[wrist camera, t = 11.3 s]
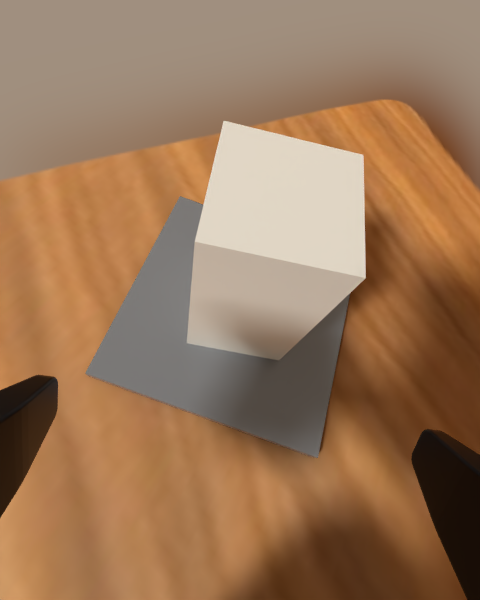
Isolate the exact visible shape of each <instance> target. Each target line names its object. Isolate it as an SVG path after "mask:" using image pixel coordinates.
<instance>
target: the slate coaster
mask: <svg viewBox="0 0 480 600" xmlns="http://www.w3.org/2000/svg"><path fill="white" fill-rule="evenodd" d="M202 209H203V205H202V204H200V203H197V202H194V201H192V200H189V199H186V198H183V197H181V196H180V197H179V199H178V201H177V203H176V205H175V207H174V208H173V210H172V212H171V214H170V216H169V218H168V220H167V222H166V223H165V225H164V227H163V229H162V231H161V233H160V235H159V237H158V238H157V240H156V242H155V244H154V246H153V248H152V250H151V251H150V253H149V255H148V257H147V259H146V261H145V263H144V265H143V266H142V268H141V270H140V272H139V274H138V276H137V278H136V279H135V281H134V283H133V285H132V287H131V289H130V291H129V293H128V294H127V296H126V298H125V300H124V302H123V304H122V306H121V308H120V309H119V311H118V313H117V315H116V317H115V319H114V321H113V322H112V324H111V326H110V328H109V330H108V332H107V334H106V336H105V337H104V339H103V341H102V343H101V345H100V347H99V349H98V350H97V352H96V354H95V356H94V358H93V360H92V362H91V364H90V365H89V367H88V369H87V371H86V373H85V374H86V375H88V376H89V377H92V378H95V379H98V380H100V381H103V382H106V383H109V384H111V385H114V386H117V387H120V388H123V389H125V390H128V391H131V392H134V393H136V394H139V395H142V396H145V397H147V398H150V399H153V400H156V401H158V402H161V403H164V404H167V405H169V406H172V407H175V408H178V409H180V410H183V411H186V412H189V413H191V414H194V415H197V416H200V417H202V418H205V419H208V420H211V421H213V422H216V423H219V424H222V425H225V426H227V427H230V428H233V429H236V430H238V431H241V432H244V433H247V434H249V435H252V436H255V437H258V438H260V439H263V440H266V441H269V442H271V443H274V444H277V445H280V446H282V447H285V448H288V449H291V450H293V451H296V452H299V453H302V454H304V455H307V456H310V457H313V458H318V454H319V449H320V444H321V439H322V434H323V429H324V424H325V419H326V414H327V409H328V404H329V398H330V393H331V388H332V383H333V378H334V373H335V368H336V363H337V358H338V353H339V348H340V342H341V337H342V332H343V327H344V322H345V317H346V312H347V307H348V302H349V297H350V294H349V295H347V296H346V297H345V298H344V299H343V300H342V301H341V302H340V303H339V304H338V305H337V306H336V307H335V308H334V309H333V310H332V311H331V312H330V313H328V314H327V315H326V316H325V317H324V318H323V319H322V320H321V321H320V322H319V323H318V324H317V325H316V326H315V327H314V328H313V329H312V330H311V331H309V332H308V333H307V334H306V335H305V336H304V337H303V338H302V339H301V340H300V341H299V342H298V343H297V344H296V345H295V346H294V347H293V348H292V349H291V350H289V351H288V352H287V353H286V354H285V355H284V356H283V357H282V358H281V359H280V360H274V359H268V358H263V357H258V356H252V355H247V354H242V353H236V352H231V351H226V350H220V349H215V348H209V347H204V346H199V345H193V344H188V343H187V333H188V320H189V308H190V295H191V282H192V270H193V257H194V244H195V238H196V234H197V230H198V226H199V222H200V218H201V213H202Z"/></svg>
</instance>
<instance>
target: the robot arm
mask: <svg viewBox="0 0 480 600" xmlns="http://www.w3.org/2000/svg"><path fill="white" fill-rule="evenodd" d="M57 406H58V381H57V379H56V378H55V377H52V376H44V375H36V376H33V377H31V378H28V379H26V380H24V381H21V382H19V383H16V384H14V385H12V386H9V387H7V388H5V389H2V390H0V517H1V516H2V514H3V513H4V511H5V510H6V508H7V506H8V505H9V503H10V502H11V500H12V498H13V497H14V495H15V494H16V492H17V490H18V489H19V487H20V485H21V484H22V482H23V480H24V478H25V476H26V475H27V473H28V471H29V469H30V467H31V465H32V463H33V461H34V459H35V457H36V455H37V452H38V450H39V448H40V446H41V444H42V442H43V440H44V438H45V436H46V434H47V432H48V430H49V428H50V426H51V424H52V422H53V420H54V418H55V415H56V412H57ZM412 465H413V468H414V470H415V473H416V476H417V479H418V482H419V485H420V487H421V490H422V493H423V496H424V499H425V502H426V504H427V507H428V510H429V513H430V516H431V518H432V521H433V524H434V526H435V529H436V531H437V533H438V536H439V538H440V540H441V542H442V545H443V547H444V549H445V551H446V553H447V556H448V558H449V560H450V562H451V565H452V567H453V569H454V571H455V573H456V576H457V578H458V580H459V582H460V584H461V587H462V589H463V591H464V593H465V596H466V598H467V600H480V455H479V454H477V453H476V452H474V451H473V450H471V449H469V448H468V447H466V446H465V445H463V444H462V443H460V442H458V441H457V440H455V439H454V438H452V437H451V436H449V435H447V434H446V433H444V432H442V431H438V430H431V429H426V430H424V431H423V432H422V433H421V435H420V438H419V440H418V442H417V444H416V446H415V448H414V451H413V453H412Z"/></svg>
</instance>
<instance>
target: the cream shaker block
mask: <svg viewBox="0 0 480 600" xmlns="http://www.w3.org/2000/svg"><path fill="white" fill-rule="evenodd" d="M365 278H366V262H365V212H364V161H363V155H361V154H357V153H353V152H349V151H345V150H341V149H336V148H332V147H328V146H324V145H320V144H316V143H312V142H308V141H304V140H300V139H296V138H292V137H288V136H284V135H280V134H276V133H272V132H267V131H263V130H259V129H255V128H251V127H247V126H243V125H239V124H235V123H231V122H227V121H224V122H223V126H222V130H221V135H220V139H219V143H218V147H217V151H216V155H215V159H214V164H213V168H212V172H211V176H210V180H209V184H208V189H207V193H206V197H205V201H204V205H203V209H202V213H201V218H200V222H199V226H198V230H197V234H196V238H195V244H194V257H193V270H192V282H191V295H190V308H189V320H188V333H187V343H188V344H193V345H199V346H204V347H209V348H215V349H220V350H226V351H231V352H236V353H242V354H247V355H252V356H258V357H263V358H268V359H274V360H280V359H281V358H282V357H283V356H284V355H285V354H286V353H287V352H288V351H289V350H291V349H292V348H293V347H294V346H295V345H296V344H297V343H298V342H299V341H300V340H301V339H302V338H303V337H304V336H305V335H306V334H307V333H308V332H309V331H311V330H312V329H313V328H314V327H315V326H316V325H317V324H318V323H319V322H320V321H321V320H322V319H323V318H324V317H325V316H326V315H327V314H328V313H330V312H331V311H332V310H333V309H334V308H335V307H336V306H337V305H338V304H339V303H340V302H341V301H342V300H343V299H344V298H345V297H346V296H347V295H349V294H350V293H351V292H352V291H353V290H354V289H355V288H356V287H357V286H358V285H359V284H360V283H361V282H362V281H363V280H364V279H365Z"/></svg>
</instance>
